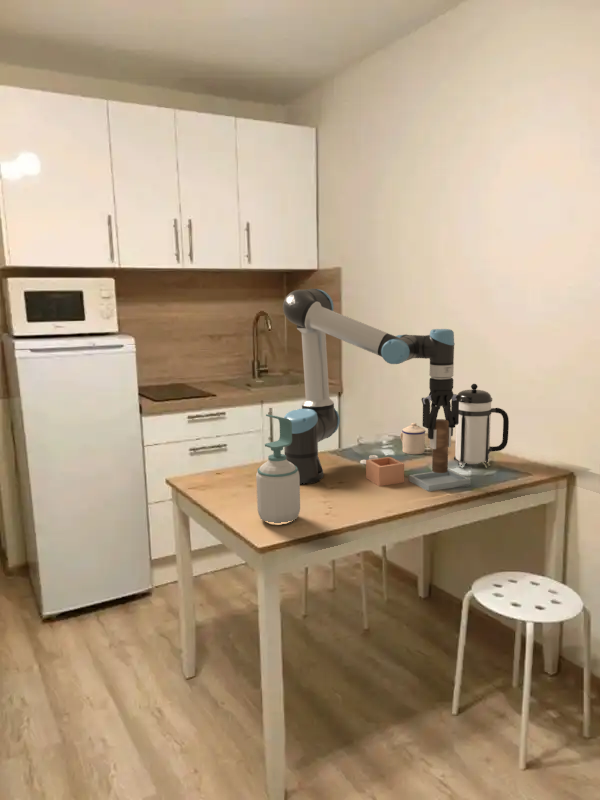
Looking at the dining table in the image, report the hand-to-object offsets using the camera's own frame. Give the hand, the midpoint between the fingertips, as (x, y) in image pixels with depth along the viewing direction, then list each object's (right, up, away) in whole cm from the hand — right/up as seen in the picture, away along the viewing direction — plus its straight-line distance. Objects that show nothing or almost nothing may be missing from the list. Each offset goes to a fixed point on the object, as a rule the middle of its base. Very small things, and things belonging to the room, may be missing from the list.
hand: (440, 447), depth 201 cm
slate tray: (0, -13, +3) cm, 13 cm away
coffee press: (+18, -8, +24) cm, 31 cm away
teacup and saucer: (-19, -9, +28) cm, 35 cm away
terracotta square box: (-17, -12, +6) cm, 22 cm away
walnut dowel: (0, -8, +2) cm, 8 cm away
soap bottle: (-52, -19, -25) cm, 61 cm away
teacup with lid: (-2, -5, +43) cm, 43 cm away
